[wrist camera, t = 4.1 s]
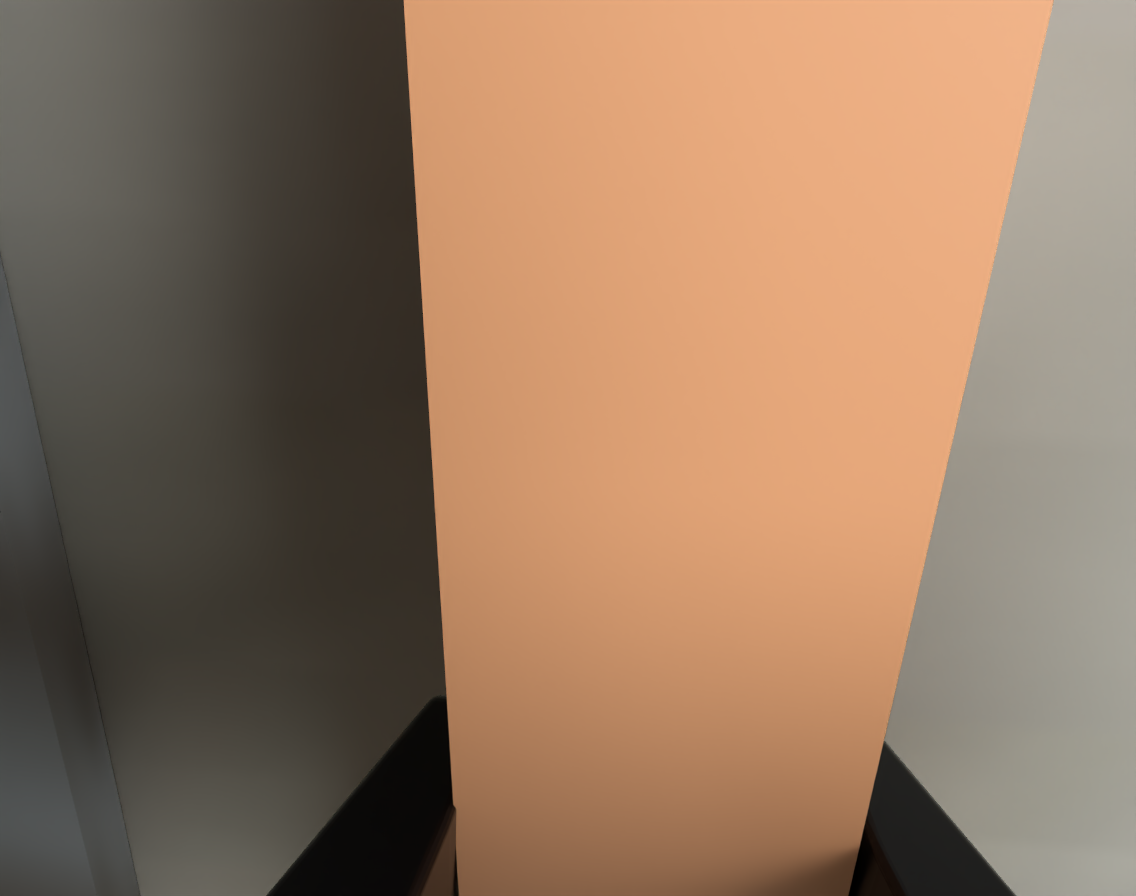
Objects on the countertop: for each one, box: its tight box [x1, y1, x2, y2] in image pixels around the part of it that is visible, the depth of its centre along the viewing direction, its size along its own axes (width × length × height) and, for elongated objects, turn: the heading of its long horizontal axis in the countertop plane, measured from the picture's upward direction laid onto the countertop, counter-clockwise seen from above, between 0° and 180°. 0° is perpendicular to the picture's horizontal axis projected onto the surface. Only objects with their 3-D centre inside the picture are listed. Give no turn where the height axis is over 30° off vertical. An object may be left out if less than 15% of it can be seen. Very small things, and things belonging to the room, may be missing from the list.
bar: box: [404, 0, 1054, 896], centre depth 9 cm, size 18×3×3 cm, turn 179°
